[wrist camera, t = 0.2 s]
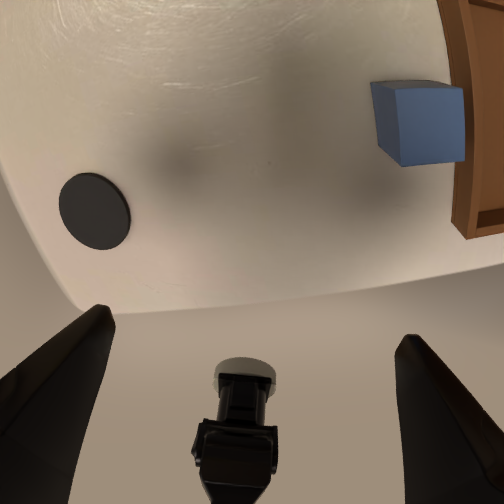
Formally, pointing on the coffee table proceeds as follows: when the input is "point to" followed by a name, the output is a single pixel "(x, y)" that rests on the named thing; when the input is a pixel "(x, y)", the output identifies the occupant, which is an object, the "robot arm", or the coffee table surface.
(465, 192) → the tray
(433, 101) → the block
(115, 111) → the coffee table surface
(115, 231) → the coaster
